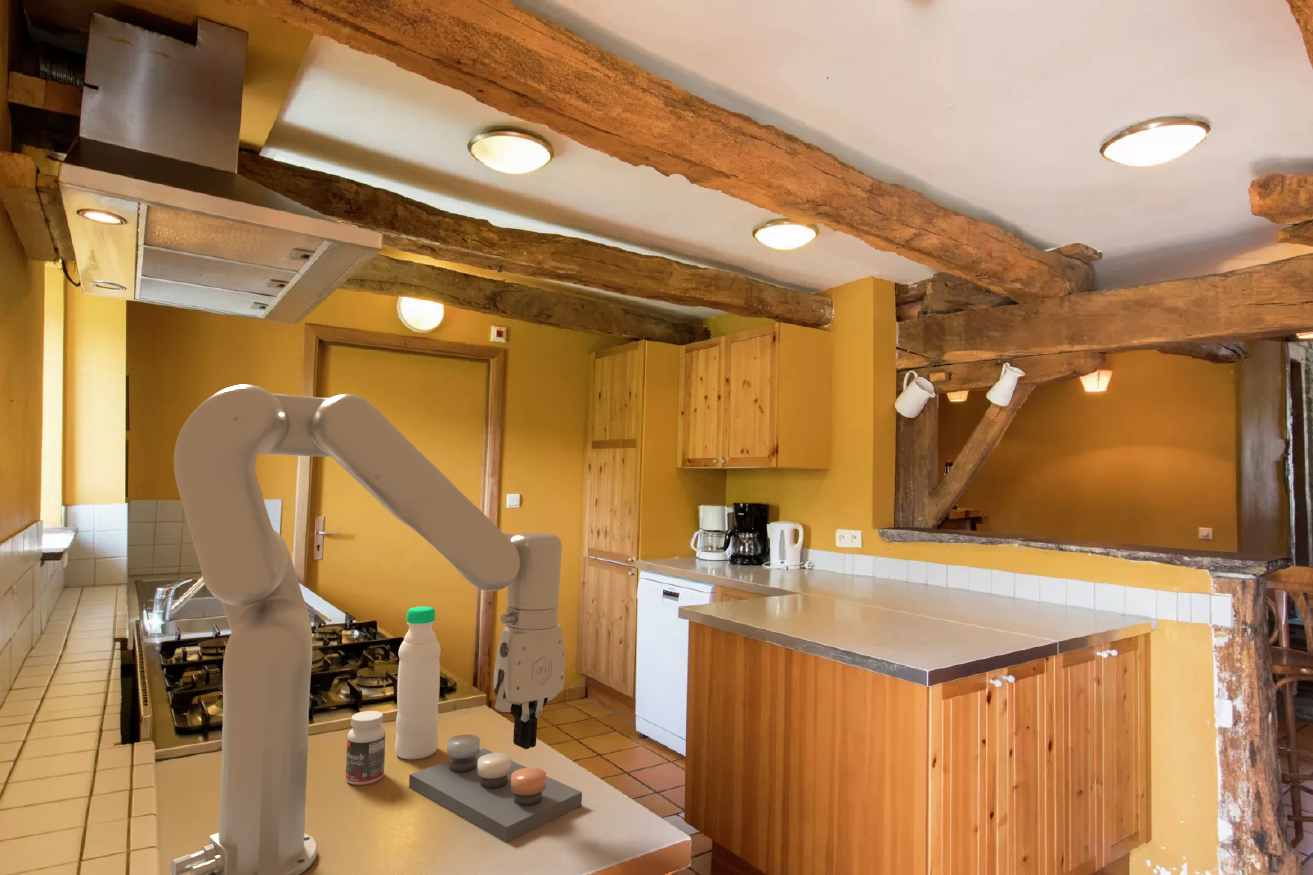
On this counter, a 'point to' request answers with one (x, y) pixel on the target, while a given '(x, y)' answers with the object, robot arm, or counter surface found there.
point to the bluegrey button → (463, 746)
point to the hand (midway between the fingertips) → (524, 745)
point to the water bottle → (418, 687)
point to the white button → (494, 765)
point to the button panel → (493, 797)
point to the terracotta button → (528, 781)
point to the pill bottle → (365, 748)
